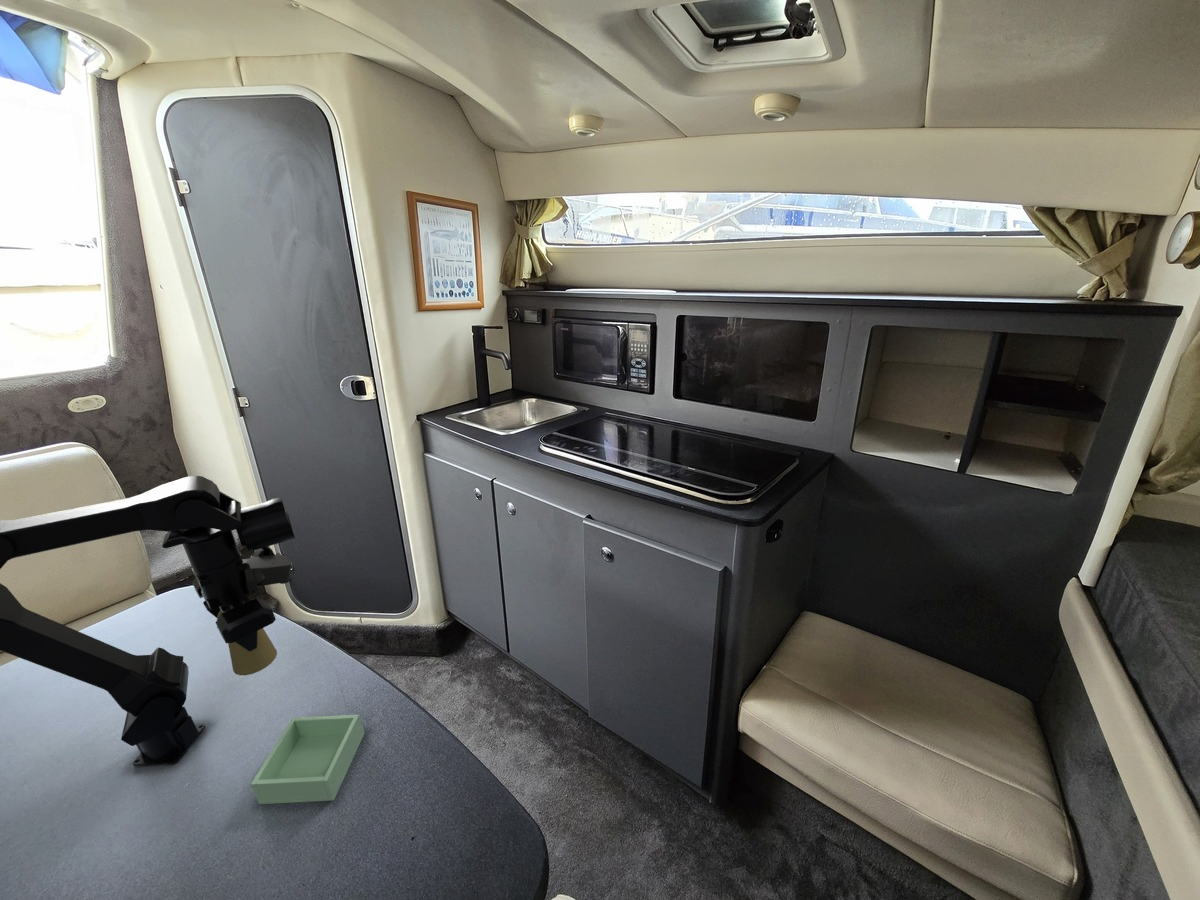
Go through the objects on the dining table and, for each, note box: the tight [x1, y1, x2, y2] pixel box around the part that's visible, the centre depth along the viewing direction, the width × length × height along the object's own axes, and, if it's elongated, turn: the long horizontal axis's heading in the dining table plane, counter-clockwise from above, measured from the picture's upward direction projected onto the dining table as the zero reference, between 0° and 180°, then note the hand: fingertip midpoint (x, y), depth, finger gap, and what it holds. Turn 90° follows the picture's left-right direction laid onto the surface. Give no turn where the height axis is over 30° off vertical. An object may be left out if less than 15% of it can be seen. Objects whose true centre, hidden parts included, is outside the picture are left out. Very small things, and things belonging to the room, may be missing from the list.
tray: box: [250, 714, 365, 805], centre depth 72 cm, size 10×10×4 cm
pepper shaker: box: [216, 601, 278, 676], centre depth 78 cm, size 6×6×11 cm
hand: (248, 642), depth 78 cm, fingers closed on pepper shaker, 4 cm apart
